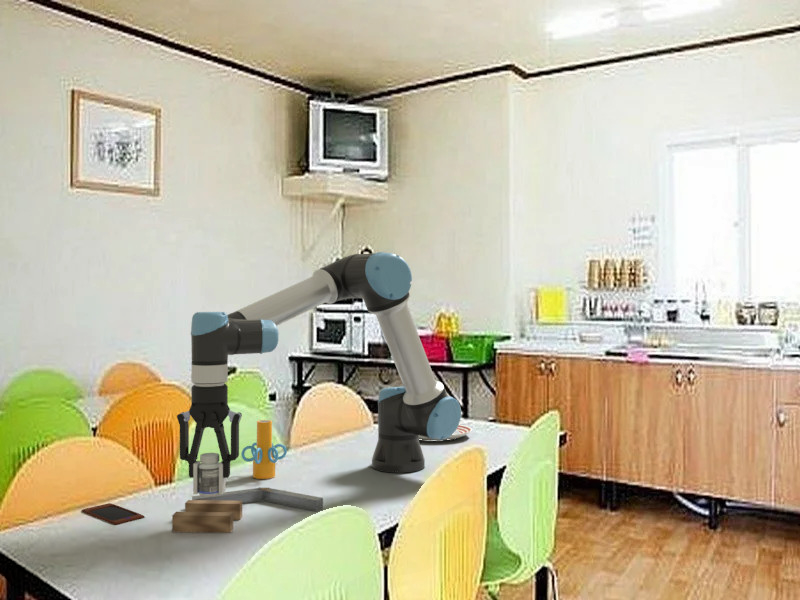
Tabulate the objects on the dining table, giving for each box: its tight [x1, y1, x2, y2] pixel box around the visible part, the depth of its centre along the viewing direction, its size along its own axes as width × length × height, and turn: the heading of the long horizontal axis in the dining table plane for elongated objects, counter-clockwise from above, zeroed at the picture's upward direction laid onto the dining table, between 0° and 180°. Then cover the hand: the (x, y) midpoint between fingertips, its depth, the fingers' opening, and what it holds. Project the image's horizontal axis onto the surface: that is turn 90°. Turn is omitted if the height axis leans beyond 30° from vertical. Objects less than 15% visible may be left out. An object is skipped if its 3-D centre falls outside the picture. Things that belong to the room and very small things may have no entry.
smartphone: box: [81, 502, 146, 526], centre depth 164 cm, size 7×1×15 cm
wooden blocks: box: [171, 499, 243, 534], centre depth 158 cm, size 12×11×4 cm
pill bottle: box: [198, 452, 220, 496], centre depth 158 cm, size 5×5×8 cm
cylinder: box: [241, 419, 288, 480], centre depth 199 cm, size 12×10×15 cm
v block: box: [191, 487, 324, 512], centre depth 173 cm, size 30×10×2 cm, turn 89°
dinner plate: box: [419, 424, 473, 440], centre depth 257 cm, size 27×27×3 cm
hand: (209, 492), depth 158 cm, fingers closed on pill bottle, 5 cm apart
